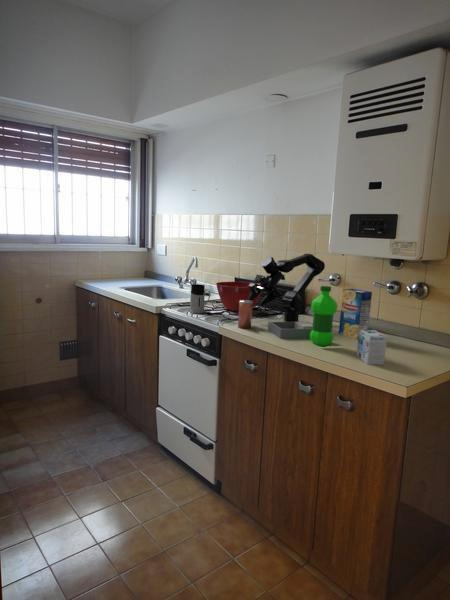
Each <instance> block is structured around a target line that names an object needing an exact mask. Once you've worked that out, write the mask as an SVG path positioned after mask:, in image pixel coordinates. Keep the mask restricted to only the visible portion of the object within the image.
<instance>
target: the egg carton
mask: <svg viewBox="0 0 450 600" xmlns="http://www.w3.org/2000/svg"><path fill="white" fill-rule="evenodd" d="M309 322H310V321H299V322H295V328H294V329H307V328H313V323H312V322H310V323H309ZM311 323H312V324H311Z"/></svg>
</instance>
